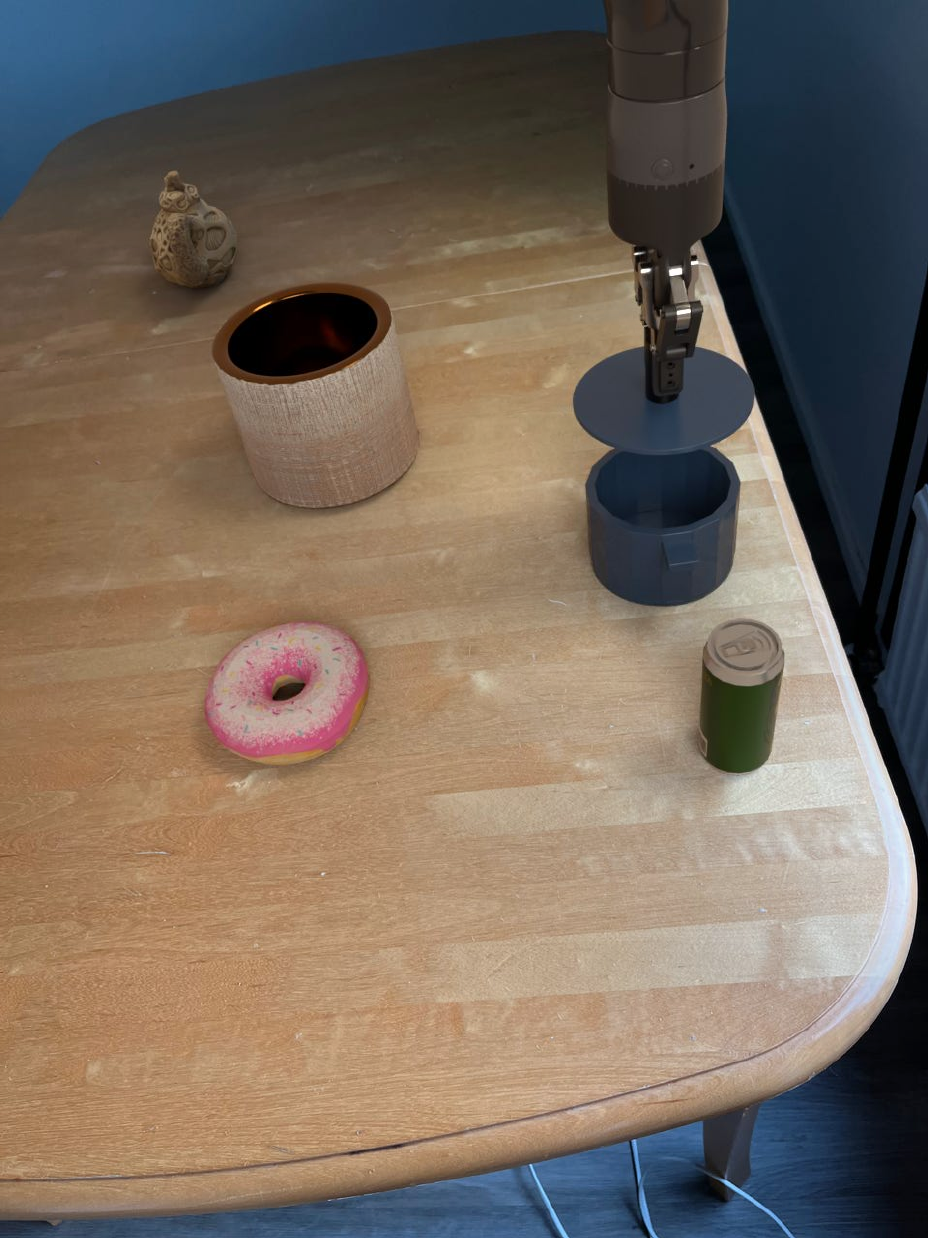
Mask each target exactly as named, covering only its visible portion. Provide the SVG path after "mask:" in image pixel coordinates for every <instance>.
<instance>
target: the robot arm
mask: <svg viewBox="0 0 928 1238" xmlns="http://www.w3.org/2000/svg"><path fill="white" fill-rule="evenodd" d="M601 2H602V5H603V8H604V14H605V20H606V63H607V64H606V65H607V99H606V110H605V123H604V125H605V129H604V131H605V158H606V159H605V161H606V162H605V163H606V189H607V221H608V226H609V228H610V230H611V232H612V233H613V234H614V235H615V236H616V237H617V238H618V239H619V240H621V241H623V242H625V243H627V244H629V245H631V252H630V253H631V256H630V257H631V262H632V265H633V273H634V285H633V286H634V289H633V290H634V293H635V295H634V299H635V303H637V306H638V307H640V314H639V321H640V322H641V325H642V327H643V346H644V365H645V337H646V335H647V334H648V333H649V332H651V345H650V351H651V352H652V389H653V392H654V394H655V395H656V396H659V397H660V396H667V395H673V394H678V393H680V392H681V391H682V390H683V375H684V358H690V357H693V355H694V351H695V346H696V345H697V341H698V336H699V333H700V327H701V323H702V318H703V313H704V306H703V303H702V301H701V299H697V300H696V283H697V281H698V279H699V257H698V254H697V253H691V248H692V247H693V246H694V245H695V244H696V243H698V242H699V241H700V240H701V239H703V238H704V237H707V236H708V235H710V234H711V233H713V231H714V230H715V229H716V228H717V227H718V225H719V224H720V222H721V220H722V217H723V208H724V207H723V205H724V185H725V165H726V144H727V129H728V128H727V127H728V105H727V96H726V95H727V93H726V61H727V41H728V40H727V38H728V23H729V22H728V21H729V0H602V1H601ZM696 347H697V346H696Z"/></svg>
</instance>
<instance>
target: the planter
mask: <svg viewBox="0 0 928 1238" xmlns="http://www.w3.org/2000/svg"><path fill="white" fill-rule="evenodd" d="M399 343H400V342H399V339H398V335H397V329H396V325H395V319H394V316H393V311H392V309H391V306H390V304H389V303H388V301H387V300H386V299H385V298H384V297H383V296H381V294H379V293H378V292H376V291H374V290H372V289H370V288H368V287H365V286H362V285H359V284H355V283H354V284H353V283H348V282H340V281H339V282H337V281H323V282H312V283H304V284H299V285H294V286H290V287H286V288H283V289H279V290H276V291H273V292H271V293H268V294H265V295H263V296H261V297H258V298H257V299H254V300H253V301H251V302H249V303H247V304H246V305H243V307H241V308H240V309H237V311H235V312H234V313H233V314H232V315H231V316H229V317H228V318H227V319H226V320H225V321H224V322H223V323H222V325H220V327H219V328H218V330H217V332H216V333H215V334H214V337H213V340H212V343H211V356H212V360H213V363H214V366H215V368H216V369H215V370H216V372H217V374H218V378H219V380H220V383H221V386H222V388H223V391H224V394H225V397H226V399H227V403H228V405H229V408H230V411H231V414H232V417H233V420H234V423H235V426H236V429H237V432H238V436H239V438H240V441H241V444H242V446H243V449H244V452H245V455H246V458H247V462H248V464H249V466H250V469H251V472H252V475H253V476H254V479H255V481H256V483H257V485H258V486H259V487H260V488H261V490H262V491H263V492H264V493H265V494H267V495H268V496H269V497H270V498H272V499H274V500H276V501H277V502H279V503H282V504H284V505H289V506H292V507H296V508H301V509H311V510H312V509H313V510H314V509H319V510H321V509H322V510H323V509H334V508H339V507H345V506H349V505H354V504H357V503H360V502H362V501H365V500H367V499H370V498H372V497H374V496H376V495H378V494H380V493H382V492H383V491H385V490H386V489H388V488H389V487H390V486H392V485H394V484H395V483H396V482H397V481H399V479H400V478H401V477H402V476H403V475H404V474H405V473H406V472H407V471H408V470H409V468H411V465H412V464H413V462H414V460H415V459H416V455H417V453H418V449H419V440H420V439H419V430H418V424H417V420H416V415H415V410H414V406H413V402H412V396H411V392H410V388H409V384H408V380H407V375H406V371H405V366H404V362H403V357H402V353H401V348H400V344H399Z"/></svg>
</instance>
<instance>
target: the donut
mask: <svg viewBox="0 0 928 1238" xmlns="http://www.w3.org/2000/svg"><path fill="white" fill-rule="evenodd" d="M290 684H304V685H305V686H303V688H302V689H301V691H300V692H299V693H298V694H296V695H295V696H293V697H291V698H288V699H285V700H274V699H273V697H274V696H275V695H276V694H277V691H278V690H279V689H280V688H283V687H286V686H287V685H290ZM370 685H371V680H370V670H369V666H368V663H367V661H366V658H365V656H364V653H363V651H362V649H361V648H360V646H359V644H358V643H357V642H356V640H354V638H352V637H350V636H349V635H348V634H347V633H346V632H344V631H343V630H341V629H340V628H338V627H336V626H333V625H332V624H328V623H324V622H319V621H294V622H288V623H287V622H286V623H282V624H278V625H275V626H271V627H268V628H265V629H263V630H261V631H259V632H256V633H254V634H252V635H250V636H249V637H247V638H246V639H244V640H242V641H241V642H239V643H238V644H237V645H235V646H234V647H233V648H232V649H231V650H229V651H228V652H227V653H226V654H225V655H224V656H223V658H222V659H221V660H220V662H219V663H218V664H217V665H216V667H215V669H214V671H213V673H212V674H211V676H210V679H209V681H208V684H207V689H206V691H205V697H204V715H205V718H206V723H207V725H208V728H209V729H210V731H211V732H212V733H213V735H214V736H215V738H216V739H217V741H218V743H220V745H222V746H223V747H224V748H225V749H227V750H228V751H229V752H231V753H232V754H235V755H237V756H238V757H241V758H243V759H245V760H248V761H252V762H254V763H255V762H256V763H258V764H259V763H260V764H264V765H278V766H284V765H293V764H300V763H303V762H304V763H305V762H307V761H310V760H314V759H316V758H318V757H321V756H322V755H325V754H327V753H328V752H330V751H332V750H333V749H335V748H336V747H337V746H339V745H340V744H341V743H342V742H344V741H345V740H346V739H347V738H348V736H349V735H350V734H351V733H352V732H353V730H354V729H355V727H356V725H357V724H358V722H359V720H360V718H361V716H362V714H363V711H364V709H365V706H366V702H367V701H368V696H369V690H370Z"/></svg>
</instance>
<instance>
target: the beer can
mask: <svg viewBox="0 0 928 1238" xmlns="http://www.w3.org/2000/svg"><path fill="white" fill-rule="evenodd" d="M702 648H703V649H702V663H701V665H702V666H701V683H700V703H699V704H700V705H699V721H698V739H697V746H698V749H699V753H700V755H701V756H702V757H703V758H704V760H705V761H706V762H707V764H708V765H709V766H710V767H712V768H713V769H714V770H715V771H717V772H719V773H722V774H725V775H727V776H738V777H739V776H745V775H750V774H751V773H754V772H755V771H757V770H758V769H760V768H761V767H762V766H763V765H764V764H765V763H766V762H767V761H768V760H769V759H770V756H771V753H772V750H773V743H774V736H775V729H776V723H777V717H778V709H779V701H780V698H781V697H780V696H781V689H782V683H783V674H784V668H785V651H784V648H783V641H782V639H781V636H780V635H779V634H778V632H776V630H775V629H773V627H772V626H770V625H768V624H766V623H764V622H763V621H760V620H756V619H753V618H743V617H738V618H732V619H727V620H725V621H723V622H721V623H719V624H718V625H716V626H715V627H713V629H712V630H711V631H710V633H709V634H708V637H707V640H706V642H705V644H704V645H703V647H702Z"/></svg>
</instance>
